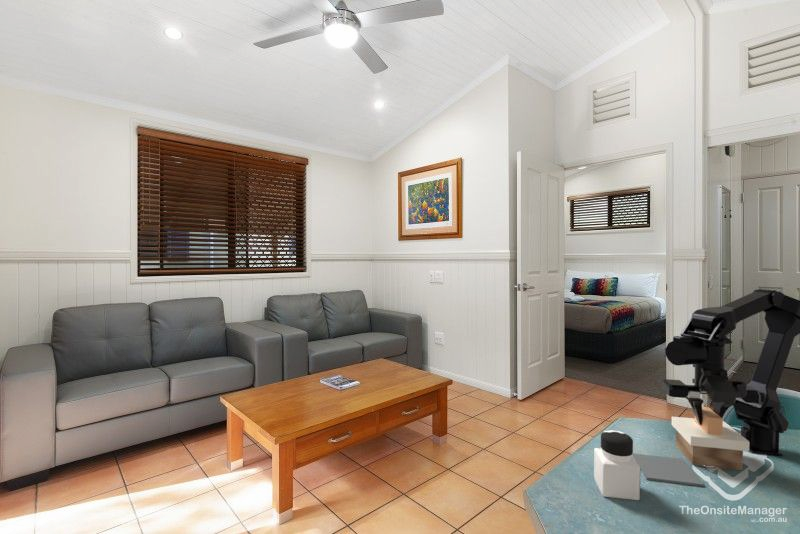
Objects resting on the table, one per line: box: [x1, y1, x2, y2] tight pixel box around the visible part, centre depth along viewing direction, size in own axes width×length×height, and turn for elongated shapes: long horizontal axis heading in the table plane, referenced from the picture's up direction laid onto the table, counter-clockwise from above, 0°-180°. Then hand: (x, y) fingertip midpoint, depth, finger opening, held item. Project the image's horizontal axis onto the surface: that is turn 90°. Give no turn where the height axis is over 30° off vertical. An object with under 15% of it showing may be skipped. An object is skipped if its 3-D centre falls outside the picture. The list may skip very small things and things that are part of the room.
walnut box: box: [675, 429, 744, 471], centre depth 100 cm, size 10×10×6 cm
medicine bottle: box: [593, 429, 641, 501], centre depth 87 cm, size 7×7×12 cm
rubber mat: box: [633, 452, 705, 487], centre depth 94 cm, size 11×11×1 cm
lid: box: [671, 406, 750, 452], centre depth 99 cm, size 12×12×6 cm
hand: (707, 425), depth 99 cm, fingers closed on lid, 3 cm apart
